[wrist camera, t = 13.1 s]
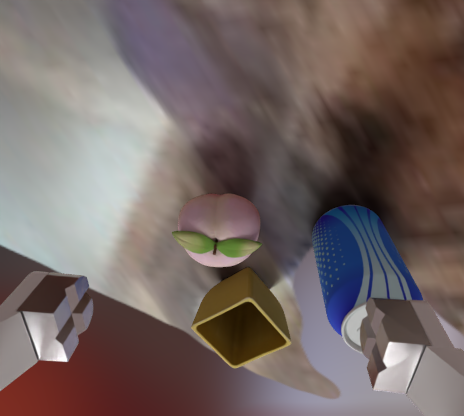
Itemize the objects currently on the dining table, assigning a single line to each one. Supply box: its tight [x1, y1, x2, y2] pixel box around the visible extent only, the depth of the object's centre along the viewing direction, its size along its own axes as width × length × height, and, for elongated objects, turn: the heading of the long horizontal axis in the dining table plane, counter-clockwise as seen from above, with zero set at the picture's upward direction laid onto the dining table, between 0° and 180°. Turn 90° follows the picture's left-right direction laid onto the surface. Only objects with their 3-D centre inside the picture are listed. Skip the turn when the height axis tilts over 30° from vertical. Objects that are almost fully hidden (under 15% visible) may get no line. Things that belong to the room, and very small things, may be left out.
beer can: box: [312, 205, 423, 354], centre depth 38 cm, size 8×8×16 cm
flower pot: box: [191, 267, 292, 368], centre depth 46 cm, size 9×9×9 cm
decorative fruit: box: [172, 193, 262, 267], centre depth 40 cm, size 9×8×10 cm
